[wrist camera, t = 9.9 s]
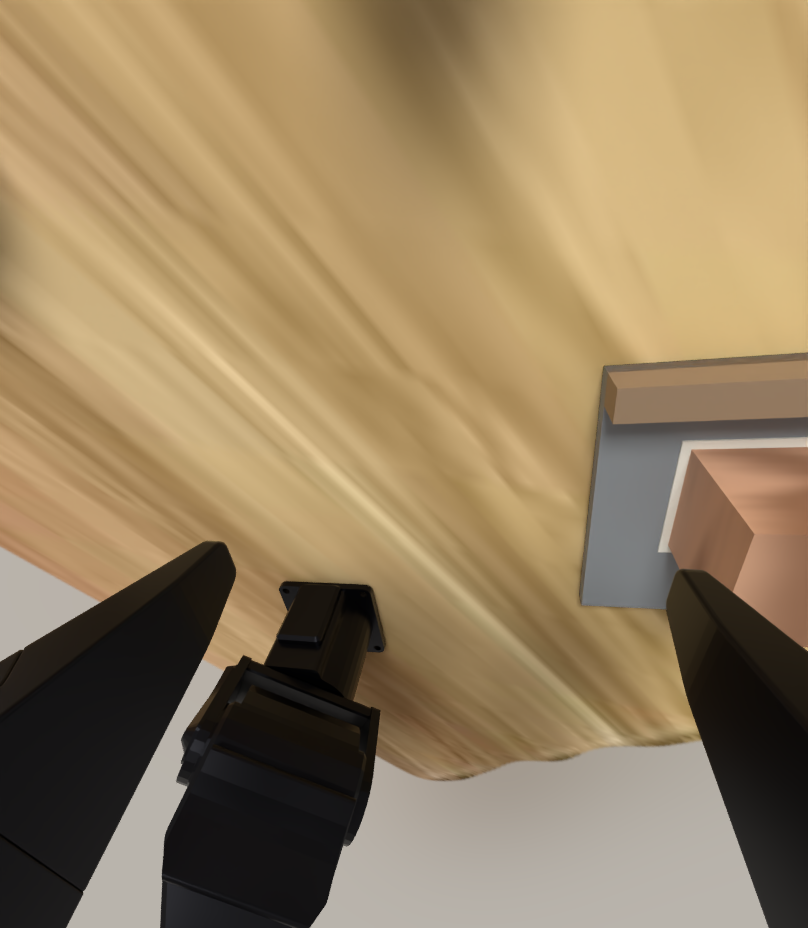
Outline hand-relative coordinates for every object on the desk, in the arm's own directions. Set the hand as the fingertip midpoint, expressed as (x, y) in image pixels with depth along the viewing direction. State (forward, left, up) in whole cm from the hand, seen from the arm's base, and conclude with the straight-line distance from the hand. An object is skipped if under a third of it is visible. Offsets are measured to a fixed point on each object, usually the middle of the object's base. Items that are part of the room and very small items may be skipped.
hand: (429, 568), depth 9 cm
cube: (-7, -12, -12) cm, 18 cm away
